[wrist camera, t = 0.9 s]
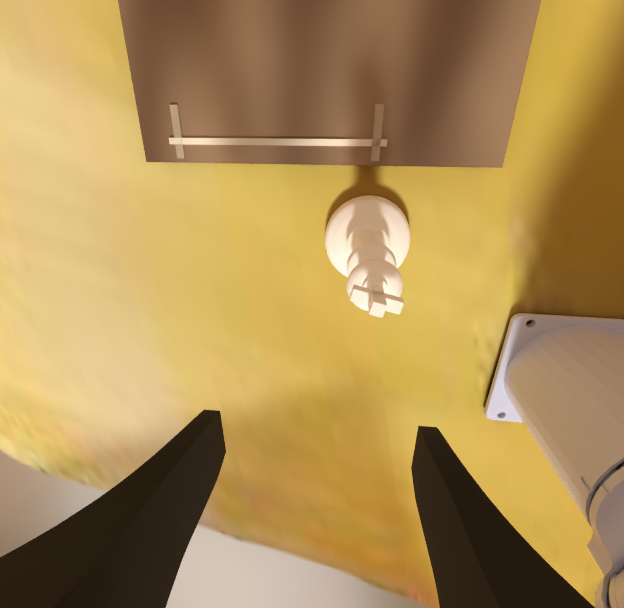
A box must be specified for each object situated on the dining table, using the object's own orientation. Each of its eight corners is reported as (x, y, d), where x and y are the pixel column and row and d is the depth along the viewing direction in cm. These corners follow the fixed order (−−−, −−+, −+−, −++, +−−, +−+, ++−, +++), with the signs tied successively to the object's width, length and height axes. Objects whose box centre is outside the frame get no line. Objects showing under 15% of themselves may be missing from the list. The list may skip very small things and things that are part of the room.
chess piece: (338, 184, 18) (321, 207, 9) (423, 208, 18) (494, 256, 9) (315, 266, 20) (283, 353, 11) (392, 288, 20) (424, 393, 11)
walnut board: (535, -41, 14) (557, -66, 12) (490, 167, 17) (503, 167, 15) (132, -22, 15) (109, -42, 14) (161, 161, 19) (145, 161, 17)
